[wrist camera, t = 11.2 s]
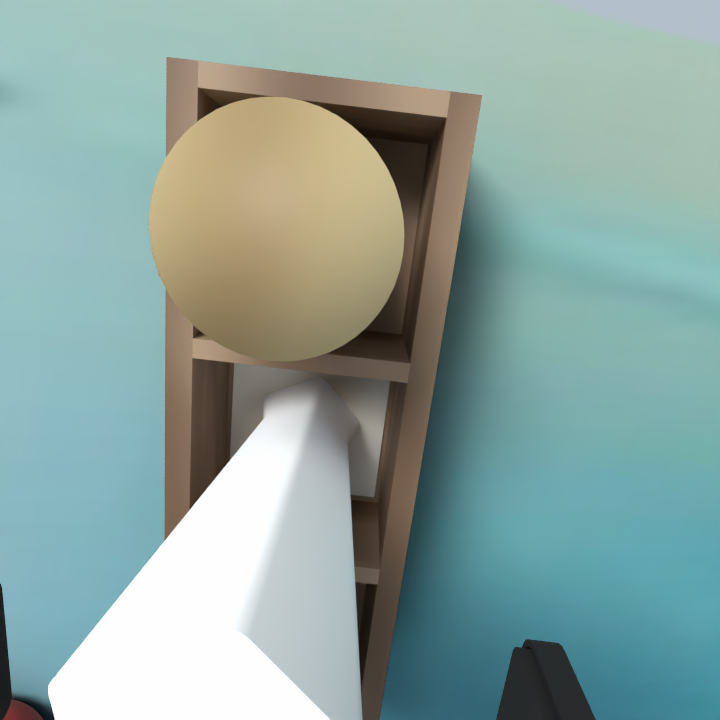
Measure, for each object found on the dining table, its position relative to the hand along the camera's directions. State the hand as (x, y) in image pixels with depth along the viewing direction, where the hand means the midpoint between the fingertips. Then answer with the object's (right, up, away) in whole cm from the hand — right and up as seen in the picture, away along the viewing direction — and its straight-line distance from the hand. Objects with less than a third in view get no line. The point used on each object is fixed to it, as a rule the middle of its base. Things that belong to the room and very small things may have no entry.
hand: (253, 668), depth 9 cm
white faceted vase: (0, +3, +10) cm, 11 cm away
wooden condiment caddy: (0, +3, +11) cm, 12 cm away
